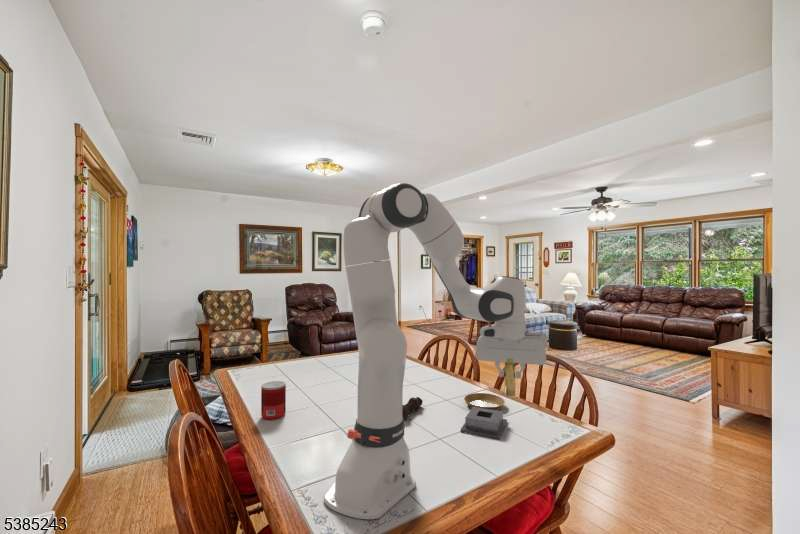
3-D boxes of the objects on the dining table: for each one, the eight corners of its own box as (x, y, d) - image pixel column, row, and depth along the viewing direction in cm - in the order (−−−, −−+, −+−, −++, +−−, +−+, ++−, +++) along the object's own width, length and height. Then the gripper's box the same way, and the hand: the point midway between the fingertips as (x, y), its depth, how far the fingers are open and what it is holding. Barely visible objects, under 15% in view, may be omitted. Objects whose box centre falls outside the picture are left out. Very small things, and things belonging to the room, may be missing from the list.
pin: (514, 397, 106) (514, 359, 106) (501, 394, 109) (501, 357, 109) (518, 393, 110) (518, 357, 110) (505, 391, 112) (505, 355, 112)
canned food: (289, 415, 127) (289, 384, 127) (268, 422, 121) (268, 389, 121) (278, 409, 132) (278, 379, 132) (257, 416, 127) (257, 384, 127)
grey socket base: (499, 439, 110) (499, 426, 110) (460, 431, 115) (460, 419, 115) (507, 421, 123) (507, 409, 123) (471, 415, 128) (471, 404, 128)
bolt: (420, 411, 136) (401, 425, 123) (410, 402, 138) (390, 415, 125) (428, 399, 135) (409, 411, 122) (417, 390, 137) (398, 401, 124)
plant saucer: (513, 411, 132) (513, 404, 132) (477, 416, 127) (477, 409, 127) (489, 397, 146) (489, 391, 146) (457, 402, 141) (457, 395, 141)
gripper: (546, 330, 109) (546, 377, 109) (476, 327, 115) (476, 371, 115) (548, 334, 103) (548, 383, 103) (474, 330, 109) (474, 377, 109)
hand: (509, 377), depth 109 cm, fingers closed on pin, 3 cm apart
